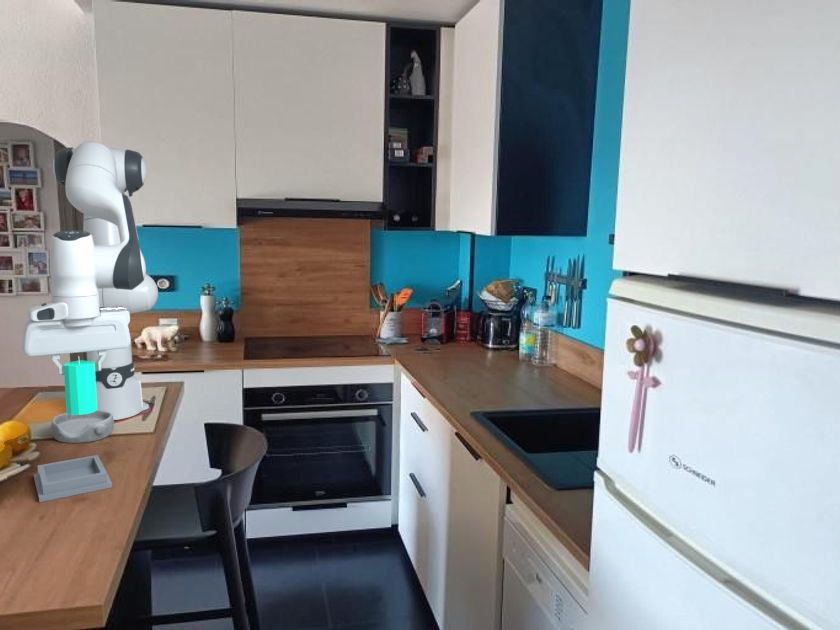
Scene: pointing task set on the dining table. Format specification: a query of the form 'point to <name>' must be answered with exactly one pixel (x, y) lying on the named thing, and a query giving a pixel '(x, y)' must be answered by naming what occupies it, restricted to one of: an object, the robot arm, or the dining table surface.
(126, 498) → the dining table surface
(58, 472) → the holder
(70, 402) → the candle
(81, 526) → the dining table surface
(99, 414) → the dish
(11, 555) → the dining table surface
